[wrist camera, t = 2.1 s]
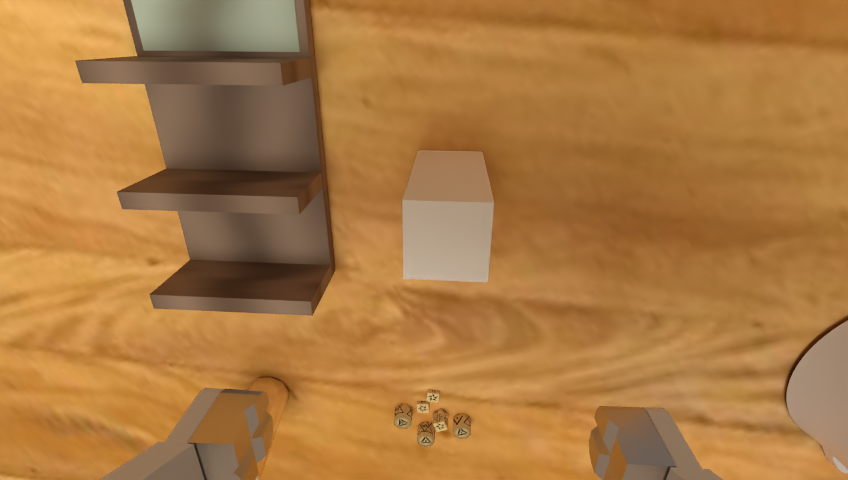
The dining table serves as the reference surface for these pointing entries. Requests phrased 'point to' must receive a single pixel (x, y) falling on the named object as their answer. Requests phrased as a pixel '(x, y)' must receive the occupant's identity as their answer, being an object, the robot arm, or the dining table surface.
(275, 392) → the milkshake
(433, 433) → the dice set
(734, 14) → the dining table surface
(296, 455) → the dining table surface
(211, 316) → the dining table surface
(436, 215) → the peg
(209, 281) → the slot rack
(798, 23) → the dining table surface
